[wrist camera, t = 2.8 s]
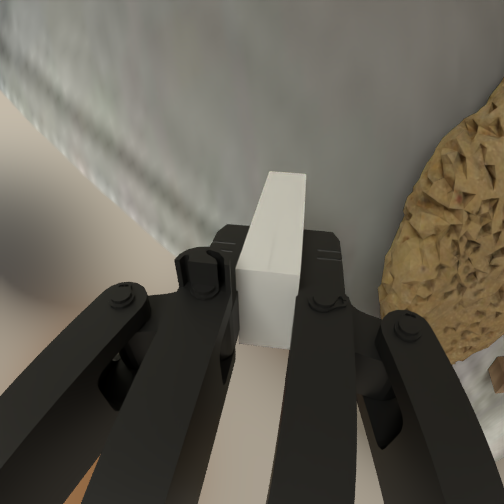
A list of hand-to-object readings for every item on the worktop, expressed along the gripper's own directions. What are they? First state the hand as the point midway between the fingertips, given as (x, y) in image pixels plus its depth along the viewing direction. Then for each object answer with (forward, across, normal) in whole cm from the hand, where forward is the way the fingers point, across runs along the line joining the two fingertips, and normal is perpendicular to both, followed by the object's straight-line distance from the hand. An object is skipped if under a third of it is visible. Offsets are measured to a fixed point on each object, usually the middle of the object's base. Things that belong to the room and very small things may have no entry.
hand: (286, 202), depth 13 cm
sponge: (+4, +12, -1) cm, 13 cm away
